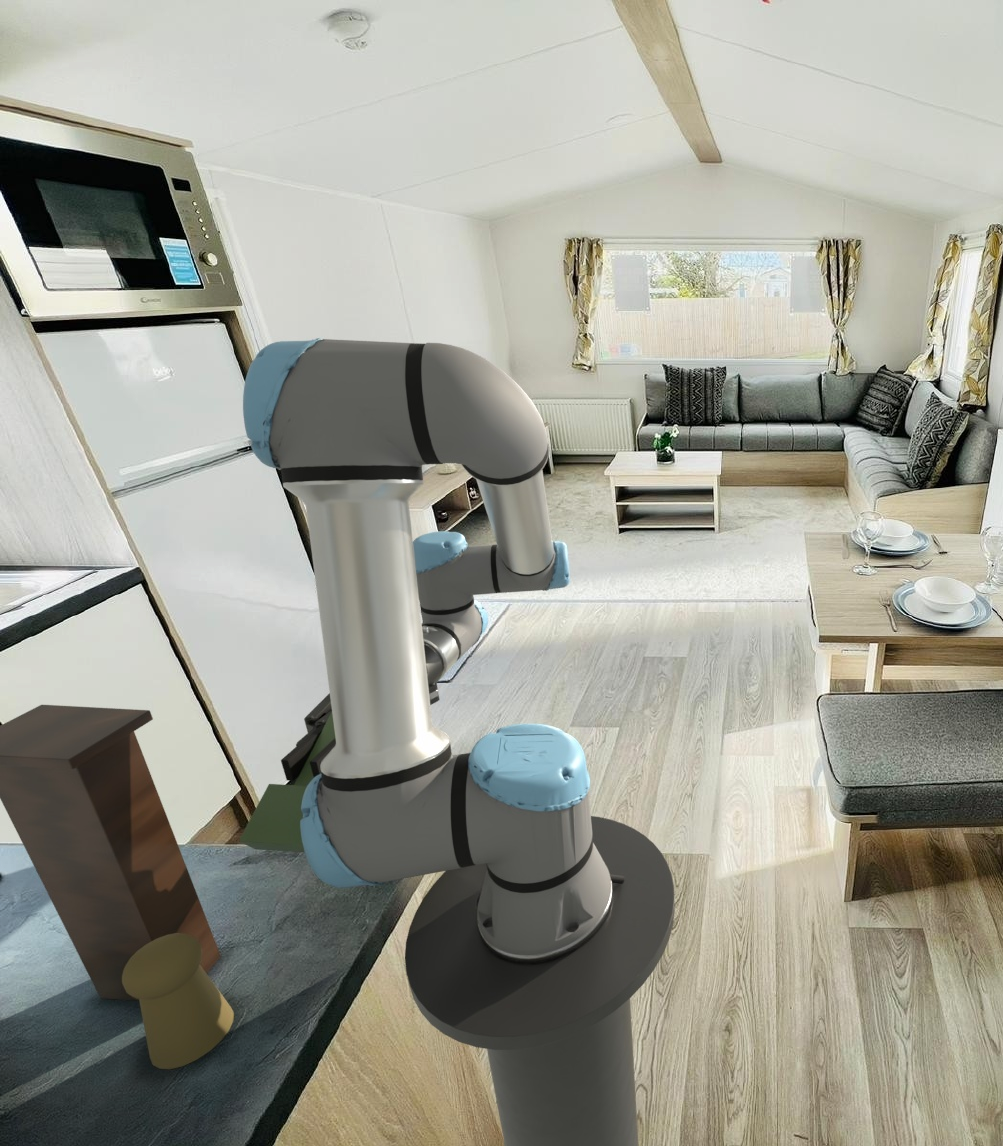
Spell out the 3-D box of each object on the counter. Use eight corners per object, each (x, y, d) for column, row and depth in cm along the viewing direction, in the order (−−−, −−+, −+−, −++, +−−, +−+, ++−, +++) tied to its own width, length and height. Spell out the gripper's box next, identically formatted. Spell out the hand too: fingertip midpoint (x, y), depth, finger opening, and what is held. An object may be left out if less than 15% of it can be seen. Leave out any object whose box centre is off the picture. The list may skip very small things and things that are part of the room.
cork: (188, 1075, 57) (149, 990, 53) (131, 1061, 58) (89, 976, 54) (250, 1009, 62) (219, 927, 58) (197, 997, 63) (163, 915, 59)
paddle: (380, 722, 77) (368, 710, 75) (320, 853, 68) (305, 845, 65) (323, 718, 77) (309, 707, 75) (255, 849, 68) (237, 841, 65)
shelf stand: (238, 948, 68) (150, 709, 57) (180, 1014, 62) (68, 759, 51) (146, 942, 68) (41, 704, 57) (79, 1008, 62) (-55, 752, 51)
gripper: (359, 636, 90) (221, 738, 68) (468, 642, 89) (365, 746, 68) (369, 682, 92) (240, 795, 71) (475, 688, 92) (378, 802, 70)
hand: (301, 771), depth 69 cm, fingers closed on paddle, 2 cm apart
